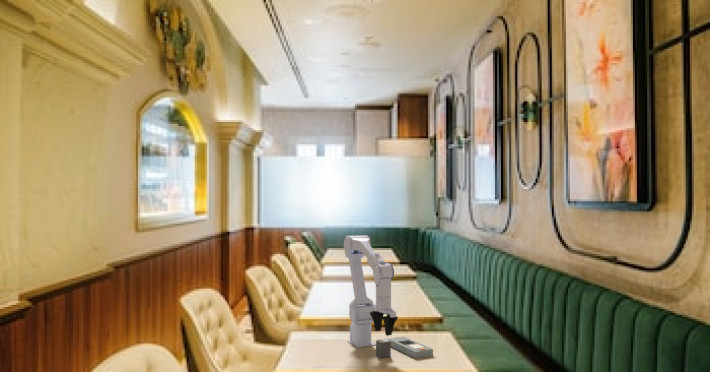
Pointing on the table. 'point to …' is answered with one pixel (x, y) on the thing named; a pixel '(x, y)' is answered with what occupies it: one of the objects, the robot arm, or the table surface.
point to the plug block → (383, 348)
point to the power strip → (410, 347)
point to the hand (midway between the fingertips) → (383, 332)
